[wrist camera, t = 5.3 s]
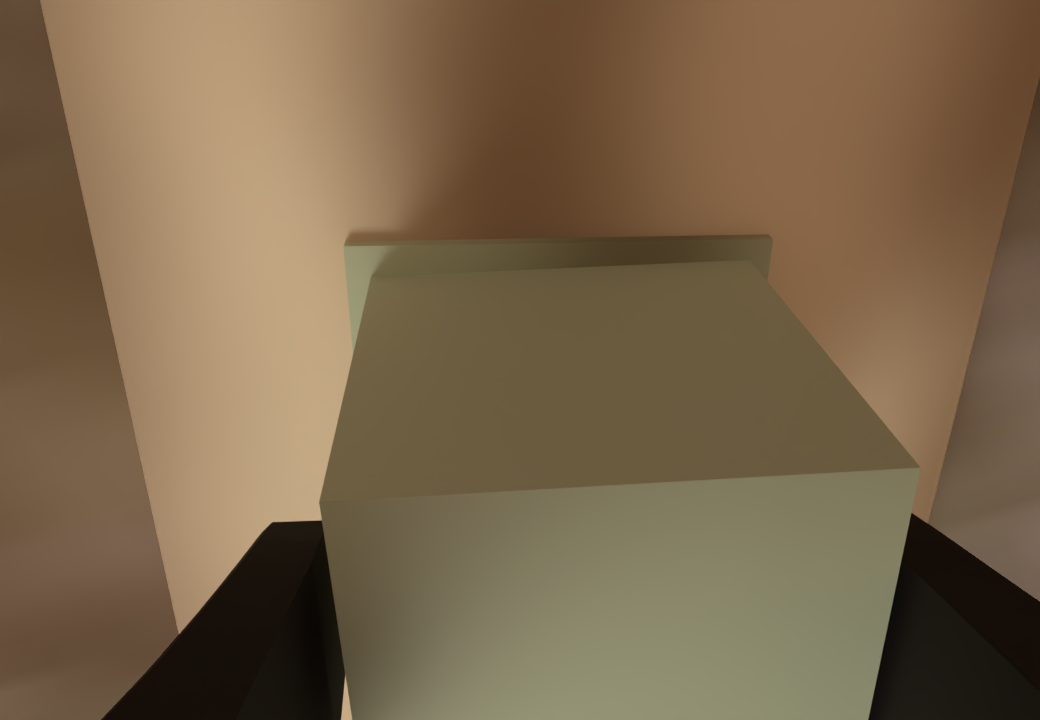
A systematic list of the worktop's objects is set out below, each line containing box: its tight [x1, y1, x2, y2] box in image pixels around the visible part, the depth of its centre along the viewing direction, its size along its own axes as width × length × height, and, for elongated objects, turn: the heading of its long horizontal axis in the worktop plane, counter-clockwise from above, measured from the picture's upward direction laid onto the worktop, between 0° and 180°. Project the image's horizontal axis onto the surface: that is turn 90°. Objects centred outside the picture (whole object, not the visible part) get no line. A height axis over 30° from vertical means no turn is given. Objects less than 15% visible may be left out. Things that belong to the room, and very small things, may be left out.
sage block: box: [319, 260, 921, 720], centre depth 11 cm, size 5×5×5 cm
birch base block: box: [40, 0, 1040, 720], centre depth 14 cm, size 12×12×3 cm
